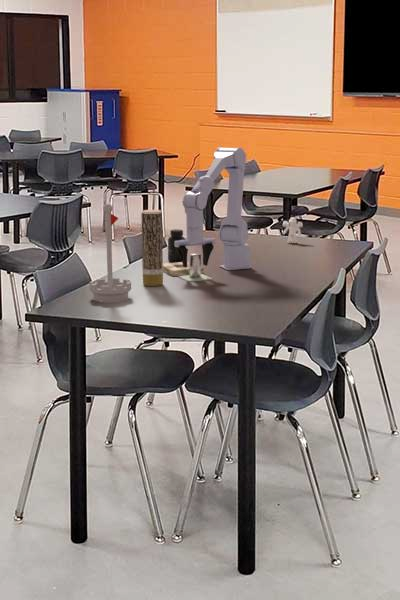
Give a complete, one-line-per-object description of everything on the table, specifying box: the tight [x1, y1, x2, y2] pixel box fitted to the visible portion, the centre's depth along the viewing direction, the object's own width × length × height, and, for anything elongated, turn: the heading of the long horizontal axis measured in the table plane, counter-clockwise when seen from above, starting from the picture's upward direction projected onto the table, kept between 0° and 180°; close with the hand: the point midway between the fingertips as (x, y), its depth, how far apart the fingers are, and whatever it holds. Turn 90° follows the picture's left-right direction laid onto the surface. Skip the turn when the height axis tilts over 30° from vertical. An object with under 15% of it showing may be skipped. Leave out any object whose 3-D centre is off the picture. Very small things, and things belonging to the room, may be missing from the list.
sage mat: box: [178, 273, 213, 283], centre depth 312 cm, size 9×9×1 cm
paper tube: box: [140, 209, 164, 287], centre depth 300 cm, size 7×7×25 cm
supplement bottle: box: [167, 228, 186, 263], centre depth 344 cm, size 7×7×12 cm
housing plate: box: [163, 261, 205, 277], centre depth 325 cm, size 12×14×2 cm
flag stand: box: [89, 203, 132, 303], centre depth 280 cm, size 13×13×30 cm
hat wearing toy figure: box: [282, 214, 303, 242], centre depth 383 cm, size 9×4×12 cm, turn 63°
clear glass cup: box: [188, 253, 202, 278], centre depth 312 cm, size 4×4×8 cm
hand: (195, 266), depth 311 cm, fingers open, 7 cm apart
